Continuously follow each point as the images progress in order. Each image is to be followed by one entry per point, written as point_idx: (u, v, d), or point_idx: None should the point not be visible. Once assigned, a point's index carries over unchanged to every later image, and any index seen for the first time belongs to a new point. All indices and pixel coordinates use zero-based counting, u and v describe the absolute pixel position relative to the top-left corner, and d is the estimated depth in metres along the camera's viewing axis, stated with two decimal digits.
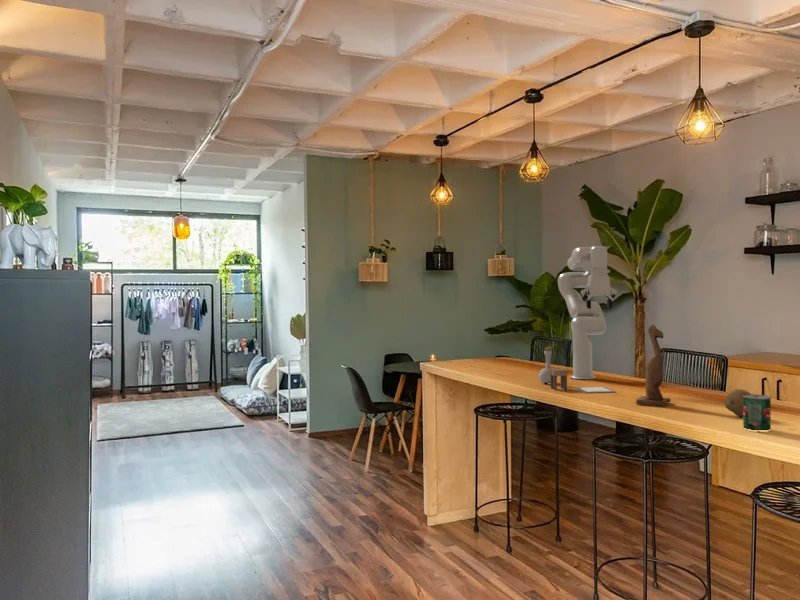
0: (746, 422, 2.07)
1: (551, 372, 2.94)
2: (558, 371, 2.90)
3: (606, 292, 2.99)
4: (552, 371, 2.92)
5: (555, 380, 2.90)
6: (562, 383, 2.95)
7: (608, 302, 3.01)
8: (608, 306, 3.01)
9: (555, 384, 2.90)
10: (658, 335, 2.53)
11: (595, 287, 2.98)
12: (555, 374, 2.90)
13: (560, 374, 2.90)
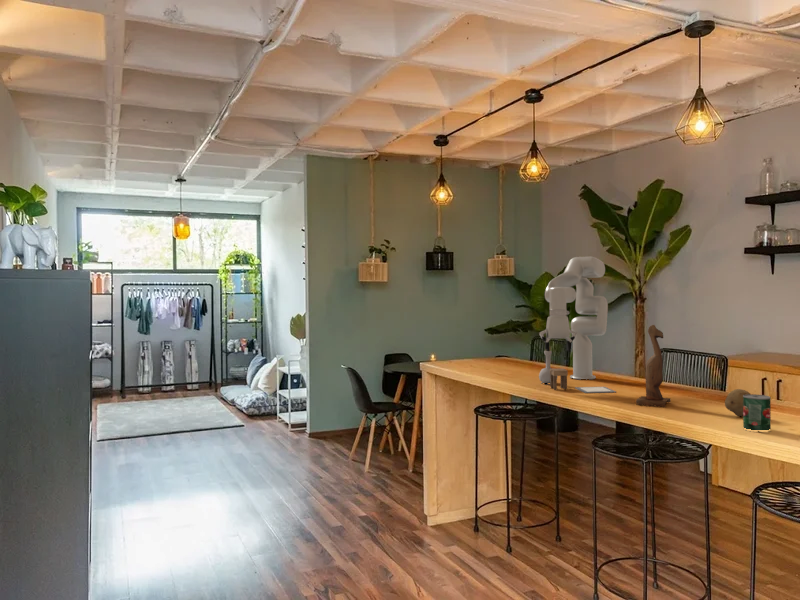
0: (746, 422, 2.07)
1: (551, 372, 2.94)
2: (558, 371, 2.90)
3: (565, 334, 2.91)
4: (552, 371, 2.92)
5: (555, 380, 2.90)
6: (562, 383, 2.95)
7: (567, 344, 2.93)
8: (567, 349, 2.93)
9: (555, 384, 2.90)
10: (658, 335, 2.53)
11: (554, 330, 2.90)
12: (555, 374, 2.90)
13: (560, 374, 2.90)
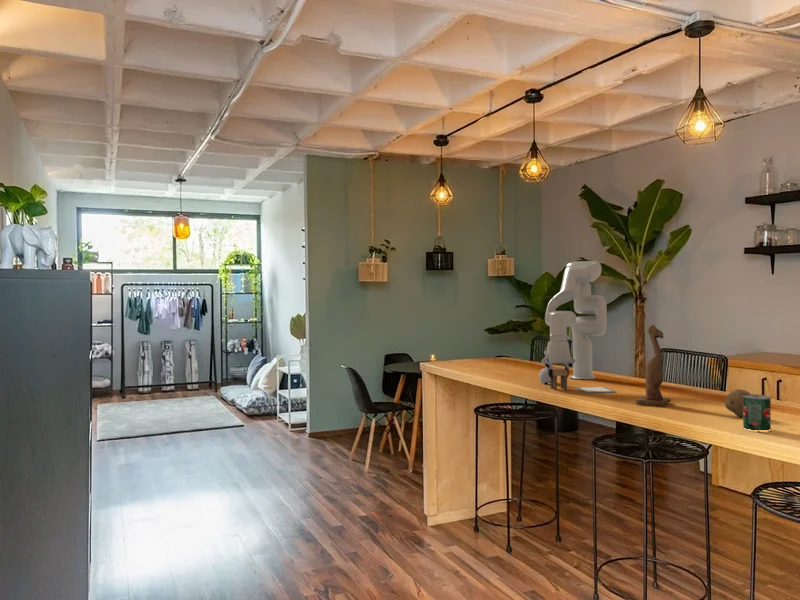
0: (746, 422, 2.07)
1: None
2: (558, 371, 2.90)
3: (565, 359, 2.91)
4: None
5: (555, 380, 2.90)
6: (562, 383, 2.95)
7: None
8: None
9: (555, 384, 2.90)
10: (658, 335, 2.53)
11: (554, 355, 2.91)
12: (555, 374, 2.90)
13: (560, 374, 2.90)
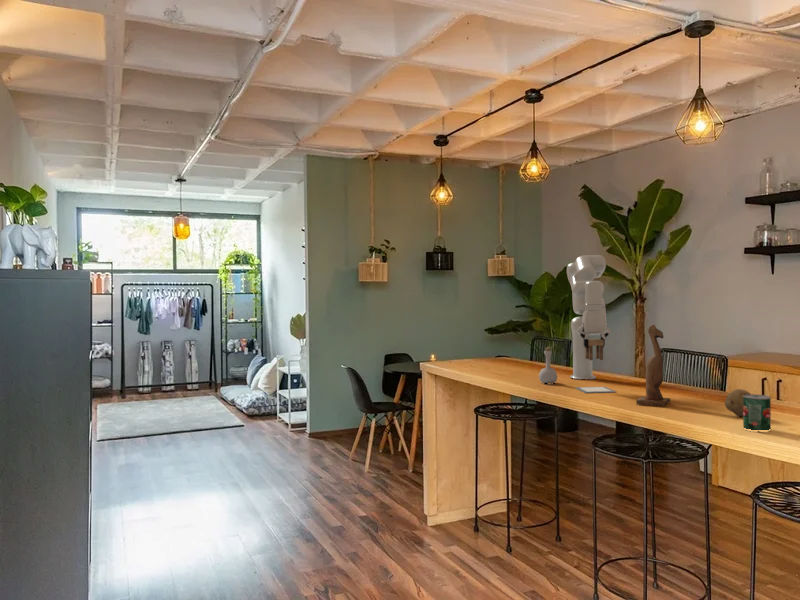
0: (746, 422, 2.07)
1: None
2: (594, 341, 2.85)
3: (601, 329, 2.86)
4: (588, 341, 2.87)
5: (591, 350, 2.85)
6: (598, 353, 2.90)
7: None
8: None
9: (591, 354, 2.85)
10: (658, 335, 2.53)
11: (590, 324, 2.85)
12: (591, 344, 2.85)
13: (596, 344, 2.85)
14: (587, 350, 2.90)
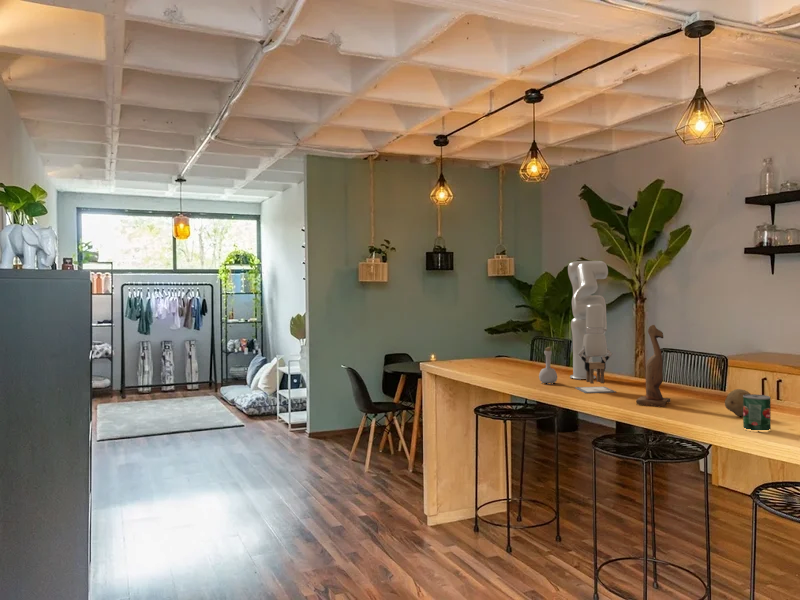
0: (746, 422, 2.07)
1: None
2: (595, 364, 2.85)
3: (602, 352, 2.86)
4: (589, 364, 2.87)
5: (592, 373, 2.85)
6: (599, 376, 2.90)
7: None
8: None
9: (592, 377, 2.85)
10: (658, 335, 2.53)
11: (591, 348, 2.85)
12: (592, 367, 2.85)
13: (597, 367, 2.85)
14: (588, 373, 2.90)
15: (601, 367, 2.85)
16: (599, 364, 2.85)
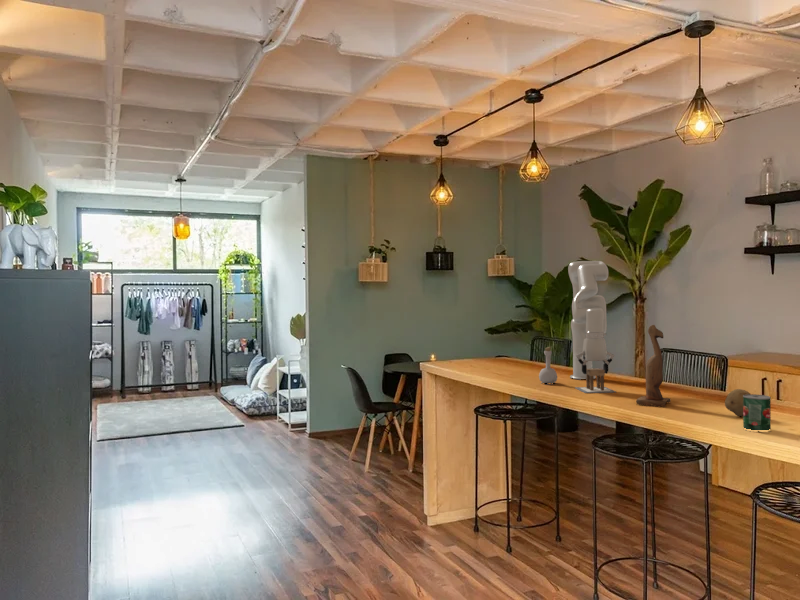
0: (746, 422, 2.07)
1: (587, 372, 2.88)
2: (595, 371, 2.85)
3: (602, 357, 2.86)
4: (589, 371, 2.87)
5: (592, 380, 2.85)
6: (599, 383, 2.90)
7: (604, 367, 2.88)
8: None
9: (592, 384, 2.85)
10: (658, 335, 2.53)
11: (591, 352, 2.86)
12: (592, 374, 2.85)
13: (597, 374, 2.85)
14: (588, 380, 2.90)
15: (601, 374, 2.85)
16: (599, 371, 2.85)
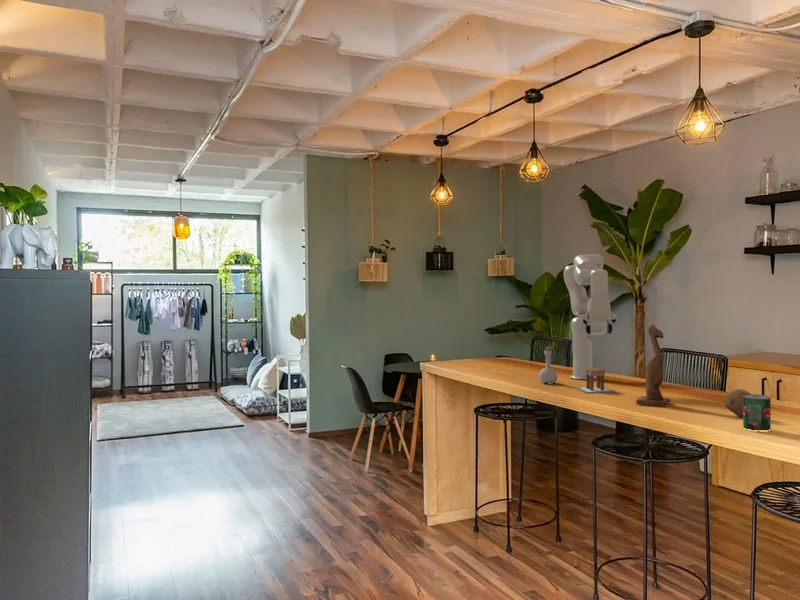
0: (746, 422, 2.07)
1: (587, 372, 2.88)
2: (595, 371, 2.85)
3: (606, 317, 2.90)
4: (589, 371, 2.87)
5: (592, 380, 2.85)
6: (599, 383, 2.90)
7: (608, 327, 2.92)
8: (608, 331, 2.93)
9: (592, 384, 2.85)
10: (658, 335, 2.53)
11: (595, 312, 2.90)
12: (592, 374, 2.85)
13: (597, 374, 2.85)
14: (588, 380, 2.90)
15: (601, 374, 2.85)
16: (599, 371, 2.85)
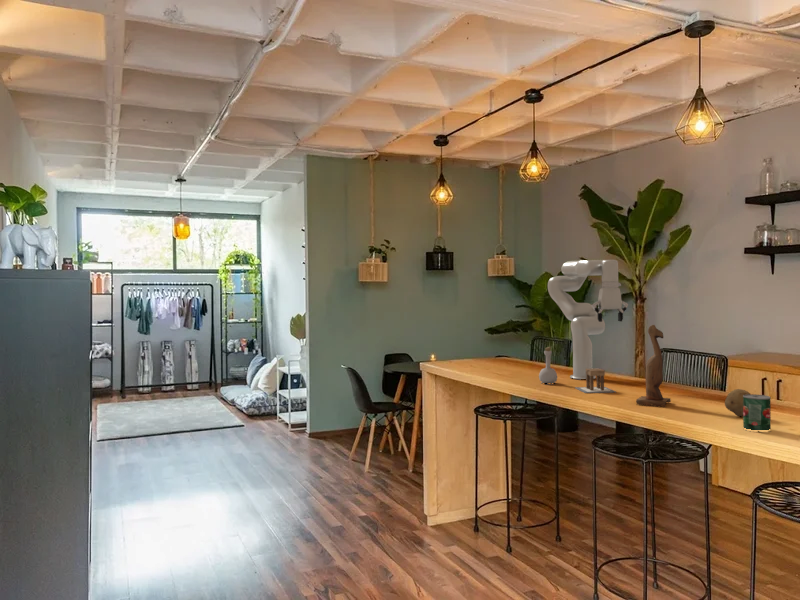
0: (746, 422, 2.07)
1: (587, 372, 2.88)
2: (595, 371, 2.85)
3: (617, 305, 3.01)
4: (589, 371, 2.87)
5: (592, 380, 2.85)
6: (599, 383, 2.90)
7: (619, 315, 3.03)
8: (619, 319, 3.03)
9: (592, 384, 2.85)
10: (658, 335, 2.53)
11: (606, 301, 3.01)
12: (592, 374, 2.85)
13: (597, 374, 2.85)
14: (588, 380, 2.90)
15: (601, 374, 2.85)
16: (599, 371, 2.85)
